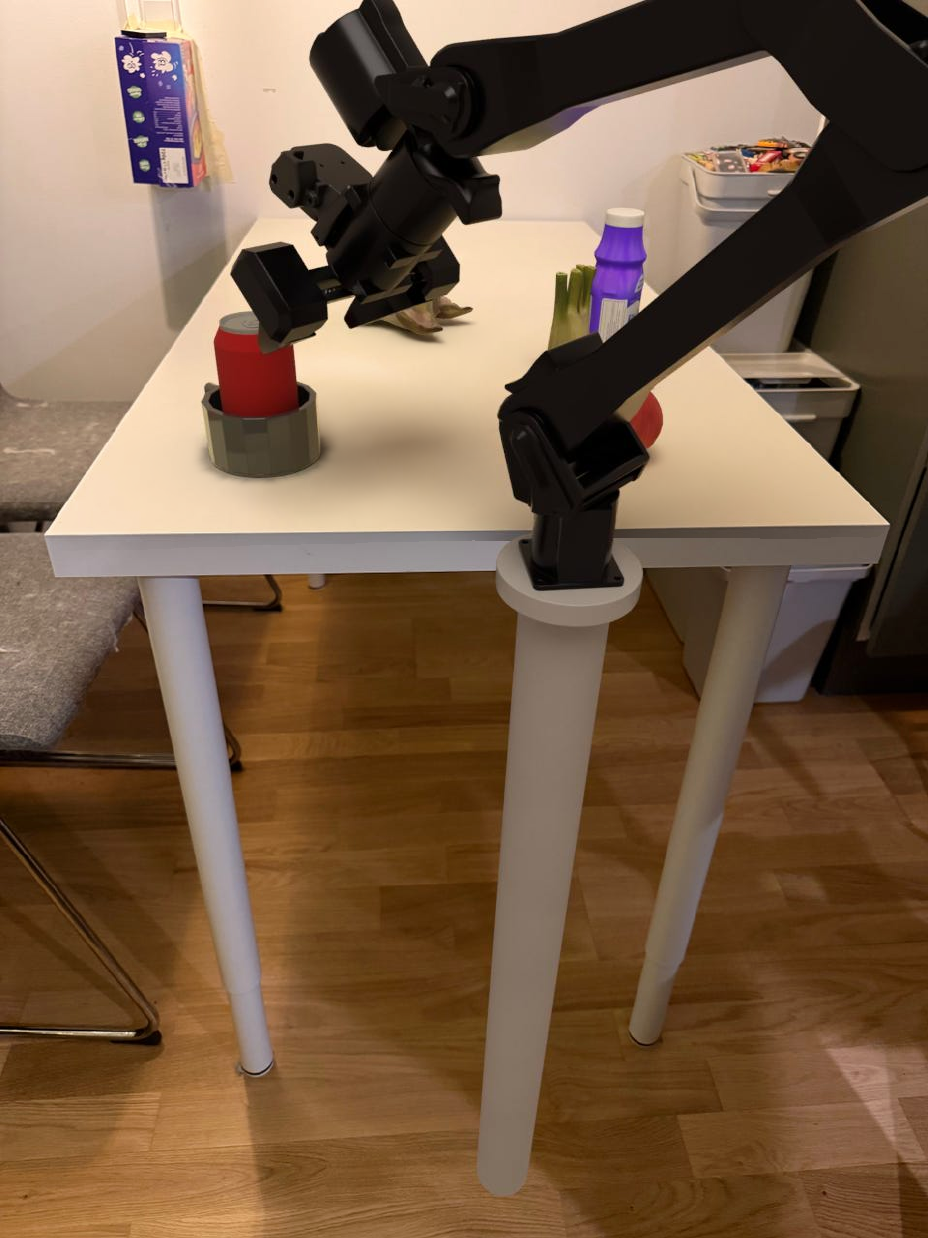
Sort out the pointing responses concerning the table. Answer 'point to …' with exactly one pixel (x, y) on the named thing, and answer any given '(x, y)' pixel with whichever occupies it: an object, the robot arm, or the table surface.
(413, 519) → the table surface
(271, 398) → the beverage can
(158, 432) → the table surface
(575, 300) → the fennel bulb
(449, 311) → the ceramic sculpture
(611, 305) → the bottle
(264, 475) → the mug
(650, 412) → the onion
